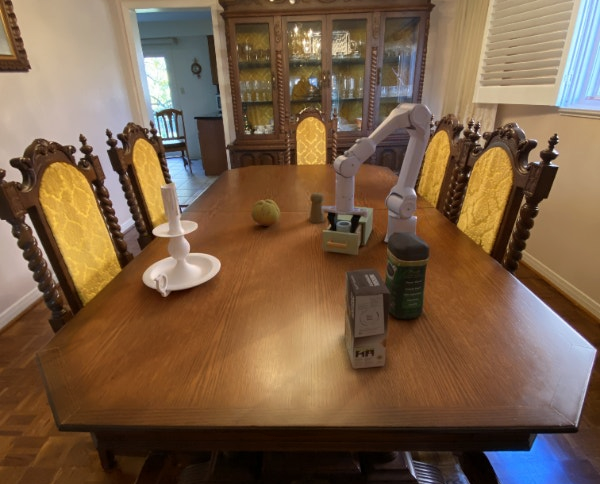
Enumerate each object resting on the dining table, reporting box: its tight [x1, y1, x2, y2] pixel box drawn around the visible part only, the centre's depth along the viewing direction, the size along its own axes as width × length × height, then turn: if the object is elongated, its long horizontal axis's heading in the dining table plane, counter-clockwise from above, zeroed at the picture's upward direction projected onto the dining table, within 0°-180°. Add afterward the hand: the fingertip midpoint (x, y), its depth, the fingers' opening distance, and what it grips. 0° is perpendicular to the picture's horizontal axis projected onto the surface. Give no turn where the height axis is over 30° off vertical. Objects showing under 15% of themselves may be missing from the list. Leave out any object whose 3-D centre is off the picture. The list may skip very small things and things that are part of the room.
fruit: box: [250, 198, 281, 227], centre depth 132 cm, size 11×12×10 cm
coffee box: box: [343, 268, 390, 369], centre depth 66 cm, size 9×6×16 cm
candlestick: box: [141, 182, 221, 298], centre depth 90 cm, size 21×25×28 cm
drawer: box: [321, 224, 363, 256], centre depth 111 cm, size 18×11×7 cm, turn 160°
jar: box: [336, 221, 351, 233], centre depth 111 cm, size 5×5×6 cm
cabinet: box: [327, 205, 374, 247], centre depth 121 cm, size 15×13×8 cm
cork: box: [309, 192, 326, 224], centre depth 136 cm, size 6×6×11 cm
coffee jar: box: [384, 231, 430, 320], centre depth 78 cm, size 10×8×19 cm
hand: (343, 235), depth 112 cm, fingers closed on jar, 5 cm apart
